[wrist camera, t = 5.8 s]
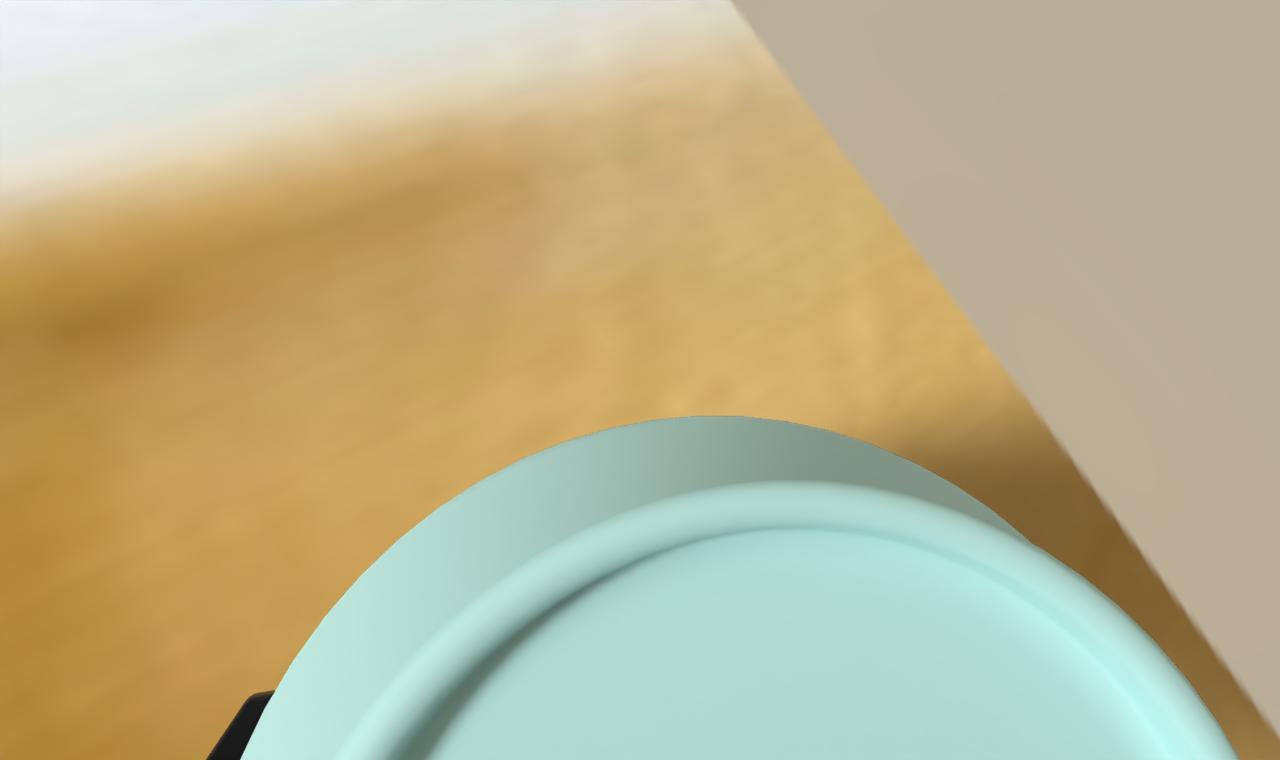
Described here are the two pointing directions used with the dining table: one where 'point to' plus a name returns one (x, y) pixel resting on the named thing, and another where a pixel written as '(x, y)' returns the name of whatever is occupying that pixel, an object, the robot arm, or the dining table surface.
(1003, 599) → the can
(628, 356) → the dining table surface
